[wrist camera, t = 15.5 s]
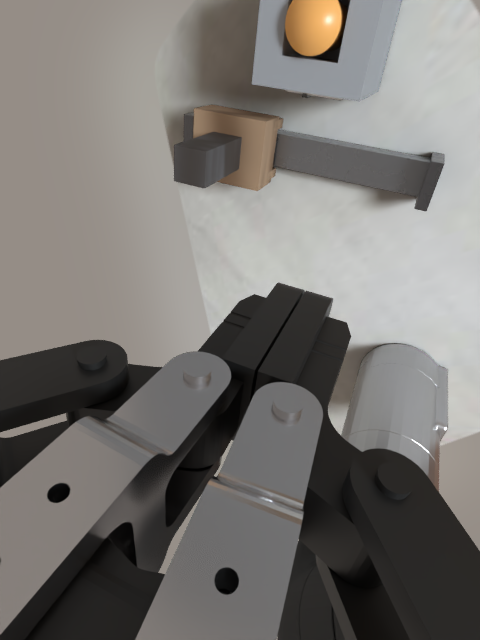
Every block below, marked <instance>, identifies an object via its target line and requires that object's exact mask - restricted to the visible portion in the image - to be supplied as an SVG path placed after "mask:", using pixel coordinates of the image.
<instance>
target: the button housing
mask: <svg viewBox="0 0 480 640" xmlns="http://www.w3.org/2000/svg"><path fill="white" fill-rule="evenodd" d="M292 1H293V0H260V5H259V15H258V26H257V36H256V46H255V56H254V66H253V76H252V84H253V85H259V86H266V87H272V88H278V89H285V90H286V92H292V93H299V94H302V97H305V98H308V97H311V96H317V97H323V98H330V99H336V100H342V99H347V100H354V101H361V100H363V99H365V98H367V97H368V96H370V95H372V94H374V93H376V92H378V90H379V87H380V83H381V79H382V75H383V71H384V67H385V63H386V60H387V56H388V52H389V48H390V44H391V40H392V37H393V33H394V29H395V25H396V21H397V17H398V13H399V10H400V6H401V2H402V0H338V1H339V2H340V3H342V4H344V5H345V6H346V7H347V9H348V15H347V20H346V25H345V30H344V34H343V39H342V44H341V46H340V47H339V48H337V49H335V50H333V51H326V52H324V53H322V54H320V55H316V56H305V55H302V54H299V53H298V52H296V51H295V50H294V49H293V48H292V46H291V45H290V43H289V41H288V39H287V36H286V31H285V19H286V14H287V11H288V8H289V6H290V4H291V2H292Z"/></svg>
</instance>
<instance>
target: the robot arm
mask: <svg viewBox="0 0 480 640" xmlns="http://www.w3.org/2000/svg"><path fill="white" fill-rule="evenodd" d="M332 302H333V298H329V297H326V296H322V295H319V294H316V293H312V292H309V291H306V292H305V291H304V290H302V289H298V288H295V287H292V286H288V285H285V284H281V283H277V284H276V286H275V287H274V288H273V290H272V291H271V292H270V294H269V295H268V296H267V298H265V297H261V296H258V295H255V294H254V295H252V296H250V297H248V298H245V299H243V300H241V301H239V303H238V304H237V305H236V306H235V307H234V309H233V310H232V311H231V313H230V314H229V315H228V316H227V317H226V318H225V319H224V322H222V323H221V324H220V325H219V327H218V328H217V329H216V330H215V331H214V333H213V334H212V335H211V336H210V337H209V338H208V340H207V341H206V342H205V343H204V345H203V346H202V347H201V348H200V349H199V350H198V352H187V353H183V354H181V355H178V356H176V357H174V358H173V359H171V360H170V361H169V362H168V363H167V364H166V365H165V366H164V367H150V366H141V365H132V364H128V360H127V354H126V352H125V351H124V349H123V348H122V347H121V346H119V345H118V344H115V343H113V342H110V341H105V340H90V341H84V342H80V343H76V344H71V345H67V346H62V347H58V348H53V349H49V350H44V351H40V352H36V353H31V354H27V355H22V356H18V357H13V358H9V359H4V360H1V361H0V432H3V431H6V430H10V429H13V428H16V427H20V426H23V425H26V424H30V423H33V422H37V421H40V420H44V419H47V418H50V417H53V416H57V415H60V414H64V413H66V416H67V421H65V422H61V423H58V424H54V425H51V426H48V427H44V428H41V429H38V430H34V431H31V432H28V433H24V434H21V435H18V436H14V437H11V438H0V640H276V639H277V636H278V640H480V551H479V550H478V548H477V547H476V545H475V544H474V542H473V541H472V540H471V538H470V537H469V535H468V534H467V532H466V531H465V529H464V528H463V526H462V525H461V524H460V522H459V521H458V520H457V518H456V516H455V515H454V514H453V512H452V511H451V509H450V508H449V507H448V505H447V503H446V502H445V501H444V499H443V498H442V496H441V495H440V494H439V457H440V456H439V455H440V441H441V439H442V438H443V436H444V434H445V433H446V431H447V428H448V370H447V369H446V368H443V367H440V366H438V365H437V364H436V362H435V361H434V360H433V359H432V358H431V357H430V356H429V355H427V354H426V353H425V352H423V351H421V350H419V349H417V348H415V347H412V346H409V345H403V344H388V345H383V346H380V347H377V348H375V349H373V350H372V351H370V352H369V353H368V354H367V355H366V356H365V357H364V359H363V361H362V362H361V366H360V369H359V371H358V375H357V380H356V384H355V387H354V391H353V394H352V398H351V401H350V405H349V409H348V412H347V416H346V420H345V423H344V427H343V430H342V434H341V435H340V434H339V433H338V432H337V431H336V430H335V428H334V427H333V425H332V423H331V421H330V419H329V416H328V405H329V402H330V399H331V396H332V393H333V390H334V387H335V384H336V381H337V378H338V375H339V372H340V369H341V366H342V362H343V359H344V356H345V353H346V350H347V347H348V344H349V341H350V338H351V335H350V332H349V328H348V325H347V323H346V322H343V321H340V320H336V319H333V318H330V317H329V314H330V310H331V307H332ZM231 440H234V441H233V443H232V446H231V448H230V450H229V453H228V455H227V457H226V459H225V461H224V464H223V466H222V468H221V470H220V472H219V474H218V476H217V477H215V476H214V474H215V473H216V471H217V470H218V468H219V466H220V464H221V459H222V455H223V453H224V452H225V450H226V448H227V446H228V444H229V443H230V441H231ZM201 494H202V495H201ZM200 496H201V498H200V500H199V502H198V504H197V506H196V509H195V511H194V513H193V515H192V517H191V519H190V521H189V524H188V526H187V528H186V530H185V533H184V534H183V537H182V539H181V541H180V543H179V545H178V548H177V550H176V552H175V554H174V556H173V558H172V561H171V563H170V565H169V567H168V569H167V572H166V574H161V573H158V572H159V570H160V568H161V566H162V564H163V561H164V559H165V556H166V553H167V550H168V547H169V545H170V543H171V541H172V538H173V537H174V535H175V533H176V532H177V530H178V529H179V527H180V526H181V524H182V523H183V521H184V519H185V518H186V517H187V515H188V514H189V512H190V511H191V509H192V508H193V506H194V505H195V503H196V502H197V500H198V499H199V497H200ZM298 539H299V541H298ZM297 543H298V544H297Z"/></svg>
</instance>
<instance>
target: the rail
mask: <svg viewBox="0 0 480 640" xmlns="http://www.w3.org/2000/svg"><path fill="white" fill-rule="evenodd" d="M193 128H194V112H192V113H188V114H184V141H187V140H190V139H193ZM273 166H276V167H281V168H285V169H290V170H295V171H299V172H304V173H309V174H313V175H318V176H323V177H327V178H332V179H337V180H341V181H346V182H351V183H355V184H360V185H365V186H369V187H374V188H379V189H383V190H388V191H393V192H397V193H402V194H407V195H411V196H416V197H417V199H416V204H415V208H414V209H418V210H422V211H427V208H428V206H429V203H430V200H431V198H432V195H433V192H434V190H435V187H436V184H437V182H438V179H439V176H440V174H441V171H442V168H443V166H444V154H440V153H435V152H433V153H432V156H431V158H428V157H423V156H417V155H412V154H407V153H401V152H396V151H391V150H385V149H380V148H375V147H369V146H364V145H359V144H353V143H348V142H343V141H337V140H332V139H327V138H322V137H316V136H311V135H306V134H300V133H295V132H290V131H284V130H279V129H278V131H277V138H276V145H275V153H274V160H273Z"/></svg>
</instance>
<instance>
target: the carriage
mask: <svg viewBox="0 0 480 640" xmlns="http://www.w3.org/2000/svg"><path fill="white" fill-rule="evenodd" d="M282 124H283V118H279V117H278V116H273V115H267V114H262V113H256V112H251V111H245V110H239V109H234V108H228V107H223V106H217V105H208V106H203V107H198V108H194V128H193V139H190V140H187V141H184V142H181V143H178V144H175V145H174V181H176V182H180V183H184V184H189V185H193V186H197V187H201V188H206V187H208V186H210V185H211V184H213V183H215V182H221V183H225V184H229V185H234V186H238V187H242V188H246V189H251V190H255V191H258V190H260V189H261V188H263V187H264V186H265V185H267V184H268V183H270V181H271V178H273V177H274V176H275V173H276V168H274V167H273V160H274V153H275V145H276V138H277V131H278V129H280V128H282Z"/></svg>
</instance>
